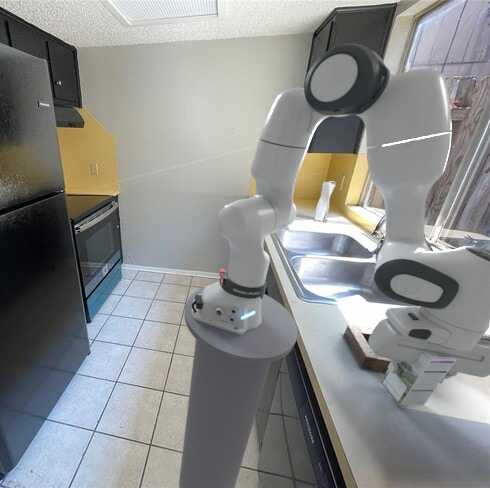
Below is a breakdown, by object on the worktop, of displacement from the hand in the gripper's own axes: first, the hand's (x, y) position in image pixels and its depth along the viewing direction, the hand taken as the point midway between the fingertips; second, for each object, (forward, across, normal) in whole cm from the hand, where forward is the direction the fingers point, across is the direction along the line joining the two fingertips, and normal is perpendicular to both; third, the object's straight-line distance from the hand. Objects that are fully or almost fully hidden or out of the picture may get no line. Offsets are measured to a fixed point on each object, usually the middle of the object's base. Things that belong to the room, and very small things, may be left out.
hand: (412, 375), depth 56 cm
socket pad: (+8, -2, -14) cm, 16 cm away
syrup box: (+6, 0, 0) cm, 6 cm away
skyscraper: (+9, -22, -144) cm, 145 cm away
